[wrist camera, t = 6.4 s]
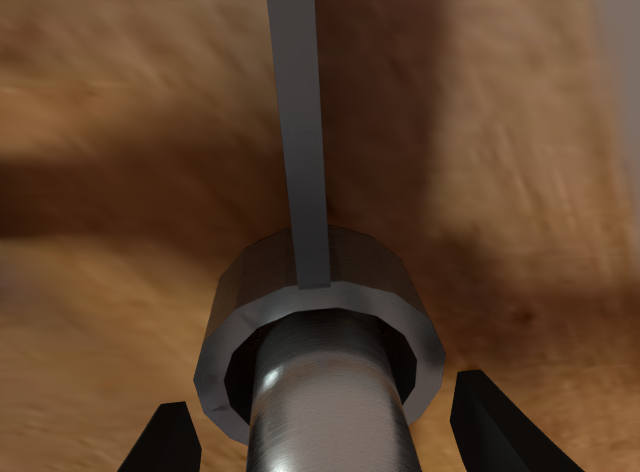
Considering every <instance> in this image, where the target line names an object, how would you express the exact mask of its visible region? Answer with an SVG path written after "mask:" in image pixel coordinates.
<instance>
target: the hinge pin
mask: <svg viewBox="0 0 640 472" xmlns="http://www.w3.org/2000/svg"><path fill="white" fill-rule="evenodd" d="M246 472H422V470H421V466H420V463H419V460H418V457H417V453H416V450H415V447H414V443H413V440H412V437H411V434H410V430H409V427H408V424H407V420H406V417H405V414H404V411H403V407H402V404H401V401H400V397H399V394H398V391H397V388H396V384H395V381H394V378H393V374H392V371H391V368H390V365H389V361H388V358H387V355H386V351H385V348H384V345H383V342H382V338H381V335H380V332H379V328H378V325H377V322H376V319H375V315H370V314H366V313H361V312H357V311H352V310H348V309H343V308H339V307H335V308H325V309H315V310H305V311H295V312H293V313H290V314H288V315H286V316H284V317H281V318H279V319H277V320H275V321H272V322H270V323H268V324H265V325H263V326H261V327H259V329H258V341H257V352H256V363H255V374H254V385H253V397H252V408H251V419H250V430H249V441H248V453H247V464H246Z"/></svg>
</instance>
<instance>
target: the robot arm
mask: <svg viewBox="0 0 640 472" xmlns="http://www.w3.org/2000/svg"><path fill="white" fill-rule="evenodd" d="M450 424H451V427H452V430H453V433H454V437H455V440H456V443H457V446H458V449H459V452H460V455H461V458H462V461H463V463H464V466H465V468H466V470H467V472H585V471H583V470H582V469H581V468H580V467H579V466H578V465H577V464H576V463H575V462H574V461H572V460H571V459H570V458H569V457H568V456H567V455H566V454H565V453H564V452H563V451H562V450H561V449H560V448H558V447H557V446H556V445H555V444H554V443H553V442H552V441H551V440H550V439H549V438H548V437H547V436H546V435H545V434H544V433H543V432H542V431H541V430H540V429H539V428H538V427H537V426H536V425H535V424H534V423H533V422H532V421H530V420H529V419H528V418H527V417H526V416H525V415H524V414H523V412H522V411H521V410H520V409H519V408H518V407H517V406H516V405H515V404H514V403H513V402H512V401H511V400H510V399H509V398H508V397H507V396H506V395H505V394H504V393H503V392H502V391H501V390H500V389H499V388H498V387H497V386H496V385H495V384H494V383H493V382H492V381H491V380H490V378H489V377H488V376H487V375H486V374H485V373H484V372H483V371H481V370H471V371H462V372H458V373H457V380H456V386H455V392H454V398H453V404H452V410H451V416H450ZM201 452H202V448H201V446H200V443H199V440H198V437H197V434H196V431H195V428H194V425H193V423H192V420H191V417H190V414H189V411H188V408H187V405H186V402H185V401H183V402H174V403H165V404H161V405H160V406H159V407H158V408H157V410H156V412H155V413H154V415H153V416H152V418H151V420H150V421H149V423H148V424H147V426H146V428H145V429H144V431H143V432H142V434H141V435H140V437H139V439H138V440H137V442H136V443H135V445H134V446H133V448H132V449H131V451H130V453H129V454H128V456H127V457H126V459H125V460H124V462H123V463H122V465H121V466H120V468H119V469H118V471H117V472H199V470H200V461H201Z"/></svg>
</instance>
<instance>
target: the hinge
mask: <svg viewBox="0 0 640 472" xmlns="http://www.w3.org/2000/svg"><path fill="white" fill-rule="evenodd" d="M267 5H268V14H269V23H270V32H271V42H272V51H273V60H274V69H275V78H276V88H277V97H278V106H279V115H280V125H281V134H282V143H283V152H284V161H285V171H286V180H287V189H288V198H289V207H290V217H291V226H292V229H285V230H283V231H280V232H278V233H276V234H274V235H272V236H270V237H268V238H266V239H264V240H262V241H259V242H257V243H255V244H253V245H251V246H249V247H247V248H245V250H244V251H243V252H242V253H241V254H240V255H239V256H238V257H237V258H236V260H235V261H234V262H233V263H232V264H231V265H230V266H229V267H228V269H227V270H226V271H225V272H224V273H223V274H222V275H221V276H220V279H219V283H218V286H217V290H216V294H215V298H214V301H213V305H212V309H211V313H210V317H209V321H208V324H207V328H206V332H205V336H204V340H203V344H202V348H201V352H200V355H199V359H198V363H197V367H196V371H195V375H194V379H193V381H194V384H195V387H196V390H197V393H198V396H199V400H200V403H201V406H202V409H203V412H204V414H205V415H206V416H207V417H209V418H210V419H211V420H212V421H213V422H214V423H215V424H216V425H217V426H218V427H219V428H220V429H221V430H222V431H223V432H224V433H225V434H226V435H227V436H228V437H229V438H231V439H233V440H235V441H238V442H240V443H242V444H245V445H247V446H248V441H249V430H250V419H251V408H252V397H253V385H254V374H255V363H256V353H255V351H254V350H253V349H252V348H251V346H250V345H249V344H248V343H247V342H246V339H247V338H248V337H249V336H250V335H251V334H252V333H253V332H254V331H255V330H256V329H257V328H259V327H261V326H263V325H265V324H268V323H270V322H272V321H275V320H277V319H279V318H281V317H284V316H286V315H288V314H290V313H293V312H295V311H305V310H315V309H325V308H335V307H339V308H343V309H348V310H352V311H357V312H361V313H366V314H370V315H375V316H378V317H379V318H380V319H382V320H383V321H385V322H386V323H388V325H387V327H386V329H385V331H384V333H383V335H382V336H381V338H382V342H383V345H384V348H385V351H386V355H387V358H388V361H389V365H390V368H391V371H392V374H393V378H394V381H395V384H396V388H397V391H398V394H399V397H400V401H401V404H402V407H403V411H404V414H405V417H406V420H407V424H408V425H410V424H411V423H413V422H414V421H415V420H417V419H418V418H419V417H421V415H422V414H423V412H424V411H425V409H426V408H427V407H428V405H429V404H430V402H431V401H432V399H433V398H434V396H435V395H436V394H437V392H438V391H439V389H440V388H441V383H442V376H443V369H444V361H445V354H446V353H445V351H444V348H443V346H442V344H441V342H440V340H439V337H438V335H437V333H436V331H435V329H434V326H433V324H432V322H431V320H430V318H429V316H428V314H427V312H426V310H425V308H424V306H423V303H422V301H421V299H420V297H419V295H418V293H417V291H416V289H415V287H414V285H413V283H412V281H411V279H410V277H409V275H408V273H407V271H406V269H405V267H404V265H403V263H402V261H401V259H399V258H398V257H397V256H396V255H394V254H393V253H392V252H391V251H389V250H388V249H387V248H386V247H384V246H383V245H382V244H380V243H379V242H378V241H377V240H375V239H374V238H373V237H371V236H368V235H365V234H361V233H357V232H354V231H350V230H346V229H343V228H339V227H335V226H332V225H327V210H326V193H325V175H324V158H323V140H322V123H321V105H320V88H319V70H318V53H317V35H316V18H315V0H267Z"/></svg>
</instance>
